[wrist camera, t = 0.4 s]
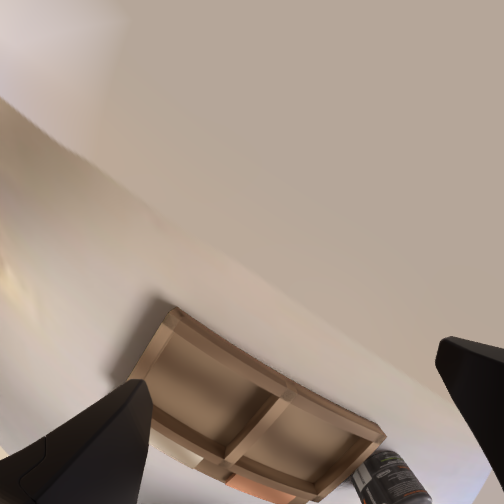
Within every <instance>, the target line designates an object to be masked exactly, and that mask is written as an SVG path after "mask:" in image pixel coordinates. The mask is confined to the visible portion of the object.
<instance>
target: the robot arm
mask: <svg viewBox="0 0 504 504" xmlns="http://www.w3.org/2000/svg"><path fill="white" fill-rule="evenodd" d="M435 365H436V368H437V370H438V372H439V374H440V376H441V377H442V380H443V382H444V383H445V386H446V388H447V390H448V392H449V394H450V396H451V398H452V399H453V401H454V403H455V405H456V406H457V408H458V409H459V411H460V413H461V414H462V416H463V418H464V419H465V421H466V423H467V424H468V426H469V428H470V429H471V431H472V433H473V434H474V436H475V438H476V440H477V441H478V443H479V445H480V447H481V448H482V450H483V452H484V454H485V456H486V458H487V459H488V461H489V463H490V465H491V467H492V469H493V471H494V473H495V475H496V477H497V479H498V481H499V483H500V485H501V487H502V489H503V491H504V349H502V348H499V347H494V346H490V345H486V344H482V343H478V342H474V341H469V340H465V339H461V338H457V337H453V336H450V337H447V338H444V339H442V340H441V341H440V343H439V347H438V351H437V355H436V359H435ZM152 412H153V402H152V398H151V395H150V392H149V389H148V386H147V384H146V382H145V380H143V379H130V380H128V381H127V382H125V383H124V384H122V385H121V386H119V387H118V388H116V389H115V390H113V391H112V392H111V393H109V394H108V395H106V396H105V397H103V398H102V399H100V400H99V401H97V402H96V403H94V404H93V405H91V406H90V407H88V408H87V409H85V410H84V411H82V412H81V413H79V414H78V415H76V416H75V417H73V418H72V419H70V420H69V421H67V422H66V423H64V424H62V425H61V426H59V427H58V428H56V429H55V430H53V431H52V432H50V433H48V434H47V435H46V437H45V436H44V437H42V438H41V439H39V440H37V441H36V442H34V443H32V444H31V445H29V446H27V447H26V448H24V449H22V450H20V451H18V452H16V453H14V454H12V455H10V456H8V457H6V458H4V459H2V460H0V504H137V499H138V494H139V490H140V485H141V480H142V476H143V471H144V467H145V462H146V458H147V453H148V447H149V438H150V429H151V420H152Z"/></svg>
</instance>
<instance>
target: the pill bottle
mask: <svg viewBox="0 0 504 504" xmlns="http://www.w3.org/2000/svg"><path fill="white" fill-rule="evenodd" d="M352 483H353V485H354V487H355V489H356V492H357V494H358V496H359V498H360V500H361V503H362V504H432V498H431V497H430V495H429V494H428V493H427V491H426V490H425V489H424V487H423V486H422V484H421V483H420V482H419V480H418V479H417V478H416V477H415V475H414V474H413V472H412V471H411V470H410V468H409V467H408V466H407V464H406V463H405V462H404V460H403V459H402V458H401V457H400V455H399V454H397V453H395V452H383V453H380V454H377V455H374V456H372V457H370V458H369V459H367V460H366V461H364V462H363V463H362V464H361V465H360V466H359V467H358V468H357V469H356V470H355V472H354V474H353V476H352Z"/></svg>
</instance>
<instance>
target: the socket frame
mask: <svg viewBox="0 0 504 504" xmlns="http://www.w3.org/2000/svg"><path fill="white" fill-rule="evenodd" d="M130 379H143V380H145V382H146V384H147V386H148V389H149V392H150V395H151V398H152V402H153V412H152V420H151V429H150V438H149V444H150V445H151V446H153V447H154V448H156V449H158V450H159V451H161V452H163V453H164V454H166V455H168V456H170V457H171V458H173V459H175V460H177V461H178V462H180V463H182V464H184V465H186V466H188V467H190V468H192V469H196V470H198V471H200V472H202V473H204V474H206V475H208V476H210V477H212V478H214V479H216V480H219V481H221V482H223V483H225V485H227V486H230V487H232V488H235V489H237V490H239V491H242V492H244V493H247V494H250V495H252V496H255V497H258V498H261V499H263V500H266V501H269V502H272V503H275V504H306V503H307V502H308V501H309V500H310V501H314V502H317V503H318V502H320V501H321V500H322V499H323V498H325V497H326V496H327V495H328V494H329V493H331V492H332V491H333V490H334V489H335V488H336V487H338V486H339V485H340V484H341V483H342V482H343V481H344V480H345V479H346V478H347V477H349V476H350V475H351V474H352V473H353V472H354V471H355V470H356V469H357V468H358V467H359V466H360V465H361V464H362V463H363V462H364V461H365V460H366V459H367V458H368V457H369V456H370V455H371V454H372V453H373V452H374V451H375V450H376V449H377V447H378V446H379V445H380V444H381V443H382V442H383V441H384V440H385V439H386V437H387V436H386V435H385V433H384V432H383V431H382V430H381V428H380V427H379V426H378V424H376V423H374V422H371V421H369V420H367V419H365V418H363V417H361V416H359V415H357V414H355V413H353V412H351V411H349V410H347V409H345V408H343V407H341V406H339V405H337V404H335V403H333V402H331V401H329V400H327V399H325V398H323V397H321V396H319V395H318V394H316V393H314V392H312V391H310V390H308V389H307V388H305V387H303V386H301V385H299V384H298V383H296V382H294V381H292V380H290V379H289V378H287V377H285V376H283V375H282V374H280V373H278V372H277V371H275V370H273V369H272V368H270V367H268V366H266V365H265V364H263V363H261V362H260V361H258V360H257V359H255V358H253V357H252V356H250V355H248V354H247V353H245V352H244V351H242V350H240V349H239V348H237V347H236V346H234V345H233V344H231V343H230V342H228V341H226V340H225V339H223V338H222V337H220V336H219V335H217V334H216V333H214V332H213V331H211V330H210V329H208V328H207V327H205V326H204V325H202V324H201V323H199V322H198V321H197V320H195V319H194V318H192V317H191V316H189V315H188V314H187V313H185V312H184V311H182V310H181V309H179V308H178V307H176V308H174V309H173V310H171V311H170V312H168V314H167V316H166V317H165V319H164V320H163V322H162V323H161V325H160V327H159V328H158V330H157V331H156V333H155V335H154V336H153V338H152V340H151V341H150V343H149V344H148V346H147V348H146V349H145V351H144V353H143V354H142V356H141V357H140V359H139V361H138V362H137V364H136V366H135V367H134V369H133V371H132V372H131V374H130V376H129V377H128V379H127V381H128V380H130ZM127 381H126V382H127Z"/></svg>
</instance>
